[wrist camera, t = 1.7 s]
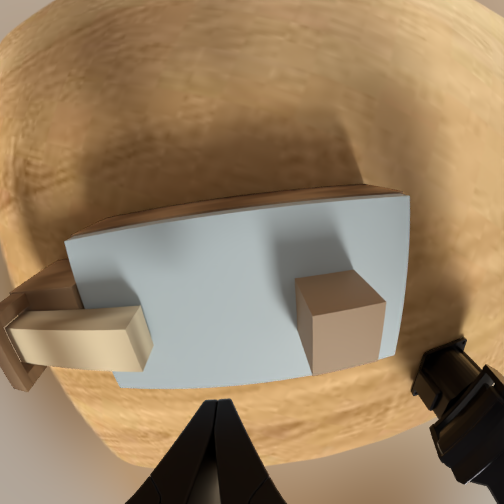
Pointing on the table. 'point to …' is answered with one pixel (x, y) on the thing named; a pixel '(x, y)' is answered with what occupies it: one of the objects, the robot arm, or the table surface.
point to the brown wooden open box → (60, 272)
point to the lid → (255, 288)
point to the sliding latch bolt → (83, 338)
